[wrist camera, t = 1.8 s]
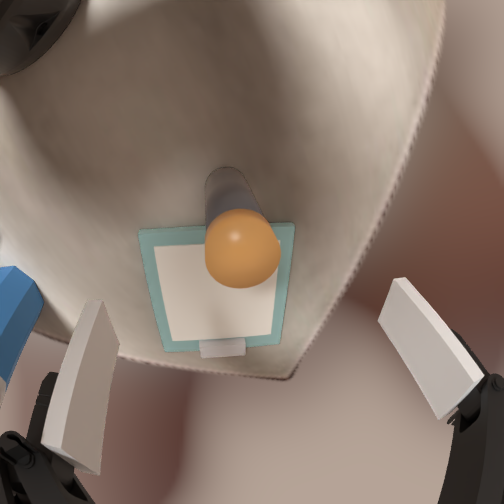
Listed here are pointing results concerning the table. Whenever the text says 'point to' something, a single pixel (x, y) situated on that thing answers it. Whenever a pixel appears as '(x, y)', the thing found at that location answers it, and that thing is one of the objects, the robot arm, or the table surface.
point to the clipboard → (211, 295)
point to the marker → (237, 233)
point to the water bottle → (15, 319)
